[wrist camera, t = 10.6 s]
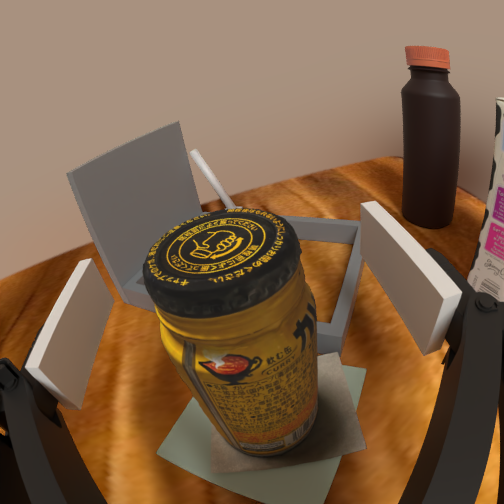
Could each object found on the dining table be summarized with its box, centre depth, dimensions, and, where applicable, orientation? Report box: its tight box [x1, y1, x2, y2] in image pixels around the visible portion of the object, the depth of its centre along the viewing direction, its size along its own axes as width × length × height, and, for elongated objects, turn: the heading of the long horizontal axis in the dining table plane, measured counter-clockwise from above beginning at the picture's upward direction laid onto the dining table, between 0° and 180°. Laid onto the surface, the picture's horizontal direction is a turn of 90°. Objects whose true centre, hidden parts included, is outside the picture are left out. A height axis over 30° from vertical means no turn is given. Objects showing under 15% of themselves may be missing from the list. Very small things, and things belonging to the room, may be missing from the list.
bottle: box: [401, 46, 460, 228], centre depth 26 cm, size 7×7×20 cm
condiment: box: [142, 208, 367, 473], centre depth 13 cm, size 7×8×12 cm
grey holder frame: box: [66, 121, 365, 357], centre depth 26 cm, size 21×16×14 cm
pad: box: [156, 365, 367, 504], centre depth 16 cm, size 10×10×1 cm
